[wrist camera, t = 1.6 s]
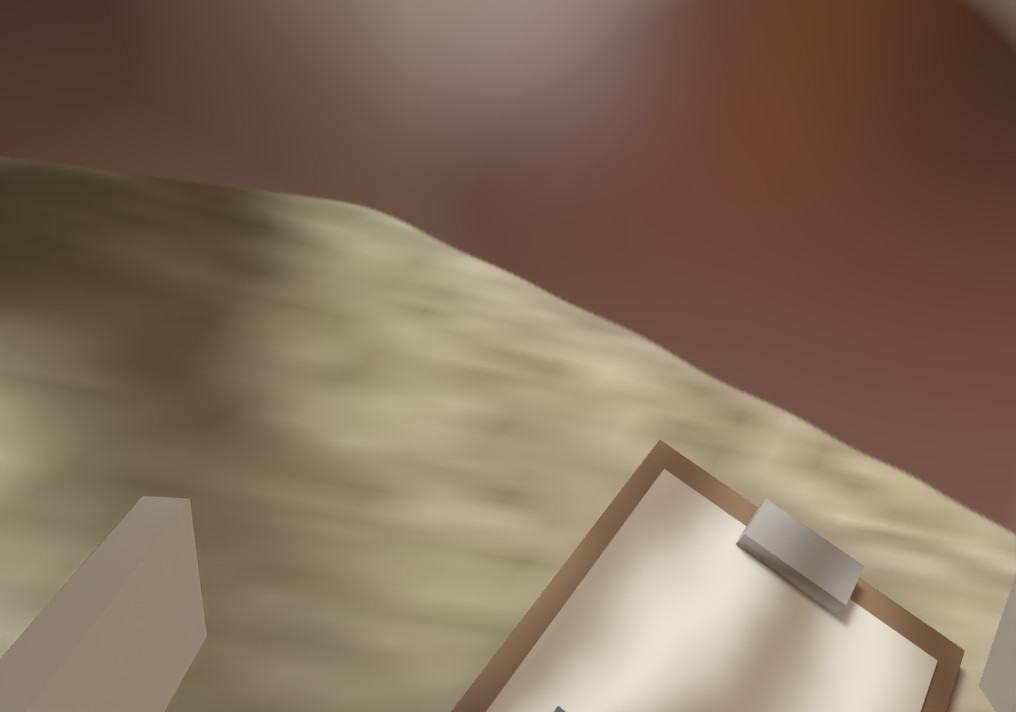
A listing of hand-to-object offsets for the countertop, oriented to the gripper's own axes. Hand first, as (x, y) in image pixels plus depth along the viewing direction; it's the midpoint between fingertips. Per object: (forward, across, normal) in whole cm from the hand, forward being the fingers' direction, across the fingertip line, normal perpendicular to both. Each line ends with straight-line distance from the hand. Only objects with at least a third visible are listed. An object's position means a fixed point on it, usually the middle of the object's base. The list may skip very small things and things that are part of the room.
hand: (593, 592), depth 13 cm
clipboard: (+14, +6, -17) cm, 23 cm away
